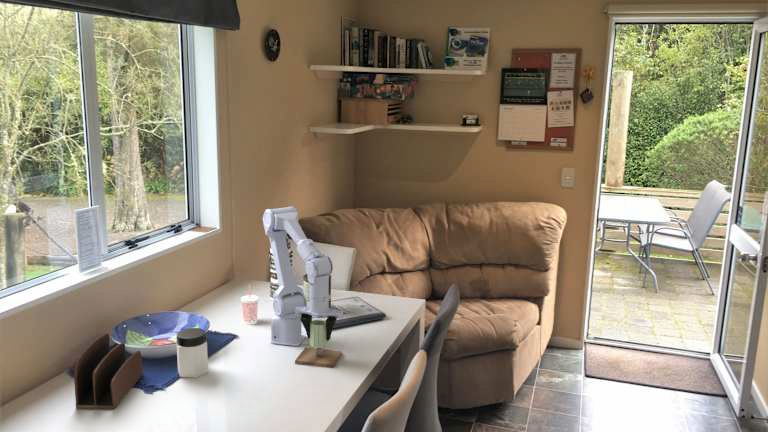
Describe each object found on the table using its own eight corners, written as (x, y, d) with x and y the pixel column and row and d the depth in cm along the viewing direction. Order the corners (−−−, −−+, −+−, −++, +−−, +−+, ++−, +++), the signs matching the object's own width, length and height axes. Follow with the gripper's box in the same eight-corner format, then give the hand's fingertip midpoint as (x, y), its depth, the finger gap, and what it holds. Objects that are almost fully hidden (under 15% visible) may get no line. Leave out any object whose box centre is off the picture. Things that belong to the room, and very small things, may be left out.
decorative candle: (291, 302, 239) (290, 240, 234) (267, 302, 239) (266, 239, 234) (294, 295, 248) (294, 234, 242) (271, 294, 248) (270, 233, 243)
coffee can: (315, 305, 236) (315, 270, 233) (336, 311, 231) (337, 275, 228) (297, 313, 228) (297, 276, 225) (319, 319, 222) (319, 282, 220)
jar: (210, 375, 178) (208, 336, 176) (180, 380, 175) (178, 341, 172) (204, 363, 186) (203, 325, 183) (176, 367, 182) (174, 329, 180)
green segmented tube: (307, 346, 188) (307, 325, 186) (313, 339, 193) (313, 318, 191) (325, 348, 187) (325, 326, 185) (329, 341, 192) (330, 320, 190)
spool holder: (295, 363, 187) (294, 346, 186) (305, 350, 197) (305, 333, 195) (333, 367, 185) (333, 350, 184) (341, 354, 194) (342, 337, 193)
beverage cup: (237, 323, 217) (236, 285, 214) (248, 317, 222) (247, 280, 220) (252, 326, 215) (251, 288, 212) (262, 320, 220) (261, 283, 217)
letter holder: (75, 409, 158) (71, 358, 155) (108, 374, 178) (105, 328, 175) (114, 410, 158) (111, 359, 156) (143, 375, 178) (140, 328, 175)
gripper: (291, 298, 184) (292, 341, 187) (339, 302, 181) (338, 345, 184) (299, 290, 191) (299, 332, 194) (344, 294, 188) (344, 336, 191)
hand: (319, 338), depth 189 cm, fingers closed on green segmented tube, 5 cm apart
